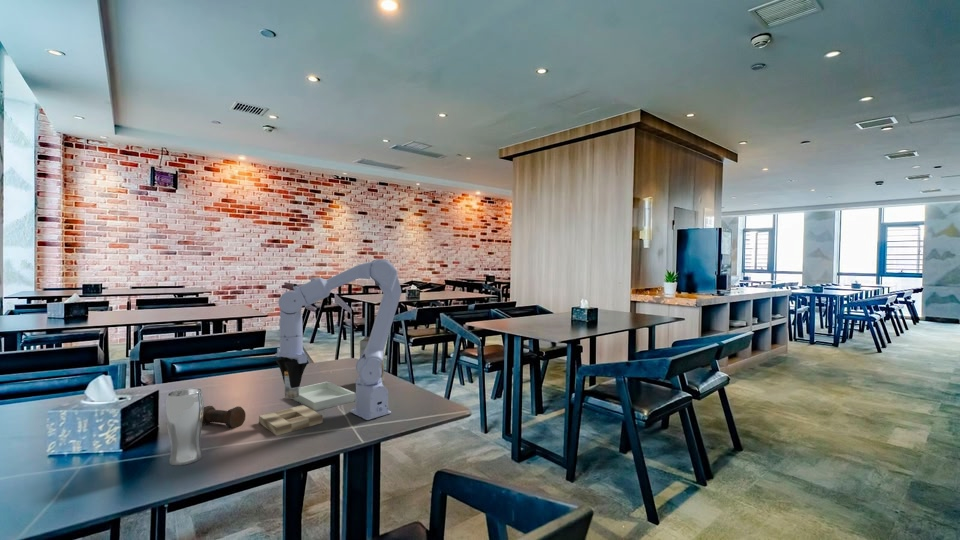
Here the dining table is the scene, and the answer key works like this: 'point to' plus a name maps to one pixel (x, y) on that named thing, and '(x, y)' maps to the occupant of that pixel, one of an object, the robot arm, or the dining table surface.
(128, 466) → the dining table surface
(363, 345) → the coffee box
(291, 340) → the robot arm
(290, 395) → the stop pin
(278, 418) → the wooden square frame
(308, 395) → the parts tray
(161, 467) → the dining table surface
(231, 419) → the dark brown dumbbell
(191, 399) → the beer glass
